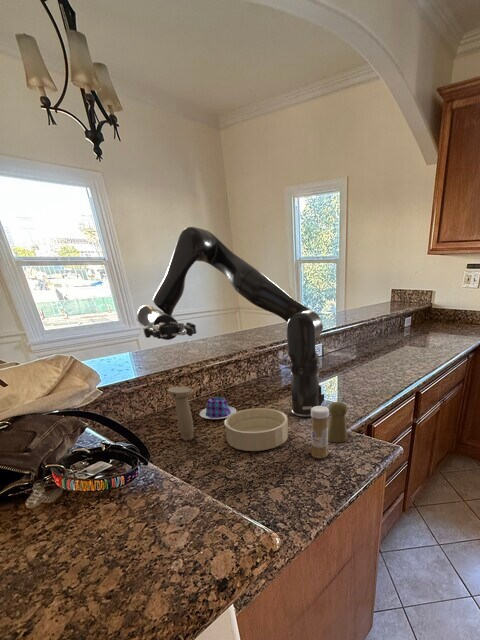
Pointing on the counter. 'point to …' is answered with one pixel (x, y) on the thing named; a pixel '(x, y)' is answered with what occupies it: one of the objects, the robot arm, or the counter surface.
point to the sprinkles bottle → (319, 431)
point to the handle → (183, 411)
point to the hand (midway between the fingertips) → (175, 333)
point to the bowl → (256, 429)
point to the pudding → (217, 409)
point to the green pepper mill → (337, 422)
